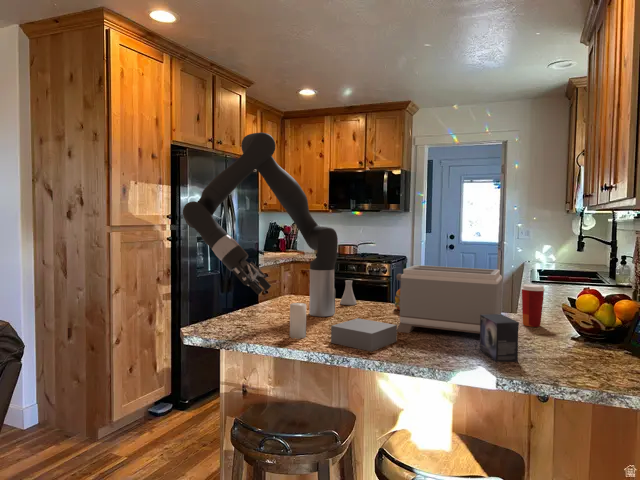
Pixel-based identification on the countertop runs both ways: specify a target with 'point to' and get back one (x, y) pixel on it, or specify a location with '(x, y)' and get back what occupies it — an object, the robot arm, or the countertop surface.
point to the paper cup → (532, 304)
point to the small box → (499, 337)
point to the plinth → (364, 334)
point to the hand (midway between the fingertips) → (264, 290)
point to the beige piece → (298, 320)
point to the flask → (348, 294)
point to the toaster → (448, 297)
